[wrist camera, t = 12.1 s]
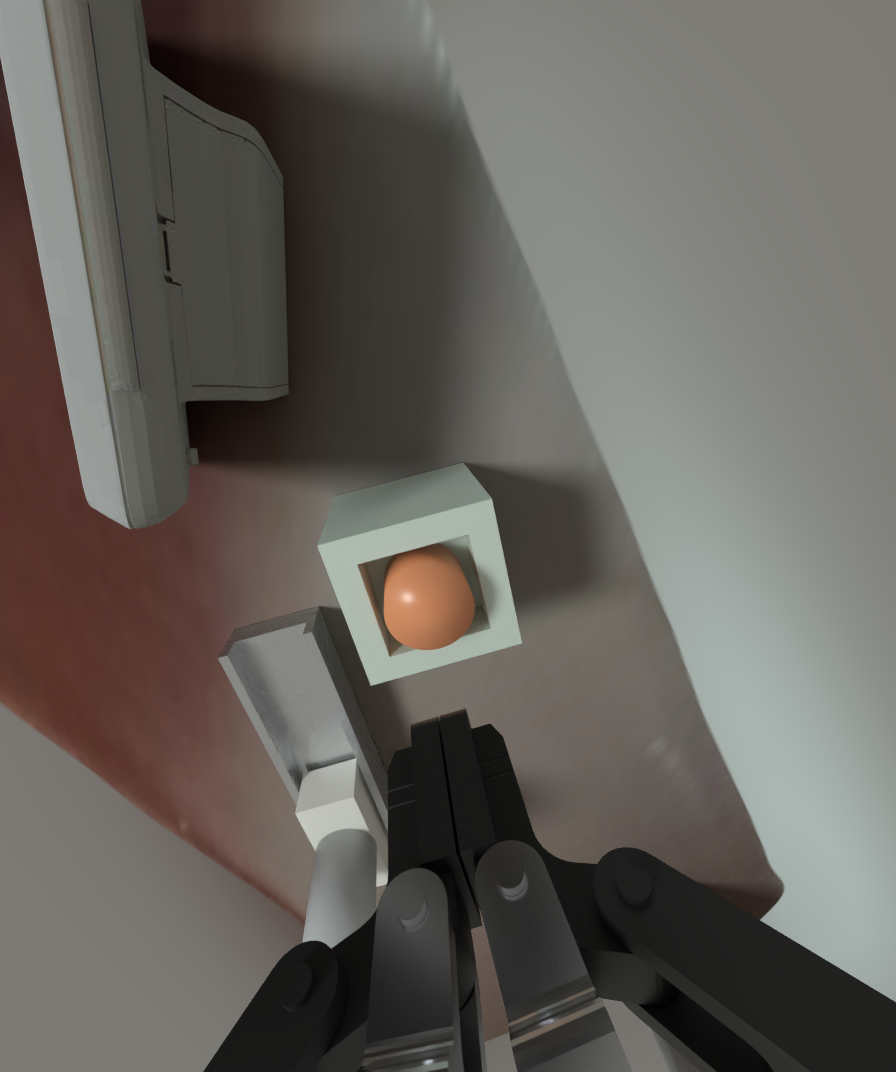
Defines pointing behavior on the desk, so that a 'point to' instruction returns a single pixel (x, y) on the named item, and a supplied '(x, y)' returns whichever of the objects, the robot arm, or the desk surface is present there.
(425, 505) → the button housing
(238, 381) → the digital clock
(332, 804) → the carriage
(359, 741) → the rail
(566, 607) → the desk surface
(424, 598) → the button
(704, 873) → the desk surface
